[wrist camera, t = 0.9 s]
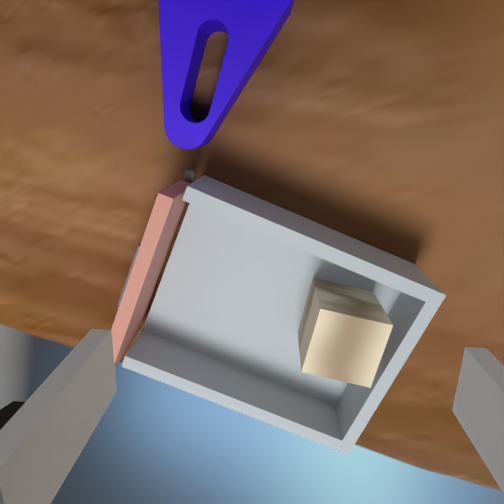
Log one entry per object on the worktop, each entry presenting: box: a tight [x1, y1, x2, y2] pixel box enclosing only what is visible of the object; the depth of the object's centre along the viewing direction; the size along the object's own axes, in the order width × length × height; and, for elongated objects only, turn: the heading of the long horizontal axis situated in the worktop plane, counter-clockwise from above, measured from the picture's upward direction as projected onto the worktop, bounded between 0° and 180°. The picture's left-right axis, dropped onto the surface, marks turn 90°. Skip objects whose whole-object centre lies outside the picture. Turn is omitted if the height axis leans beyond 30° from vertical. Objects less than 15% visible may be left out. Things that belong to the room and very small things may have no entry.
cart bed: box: [122, 168, 446, 454], centre depth 39 cm, size 24×19×8 cm
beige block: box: [297, 278, 393, 388], centre depth 37 cm, size 6×6×7 cm
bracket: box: [159, 0, 294, 149], centre depth 31 cm, size 18×11×12 cm, turn 162°
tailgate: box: [111, 179, 191, 367], centre depth 36 cm, size 8×16×2 cm
